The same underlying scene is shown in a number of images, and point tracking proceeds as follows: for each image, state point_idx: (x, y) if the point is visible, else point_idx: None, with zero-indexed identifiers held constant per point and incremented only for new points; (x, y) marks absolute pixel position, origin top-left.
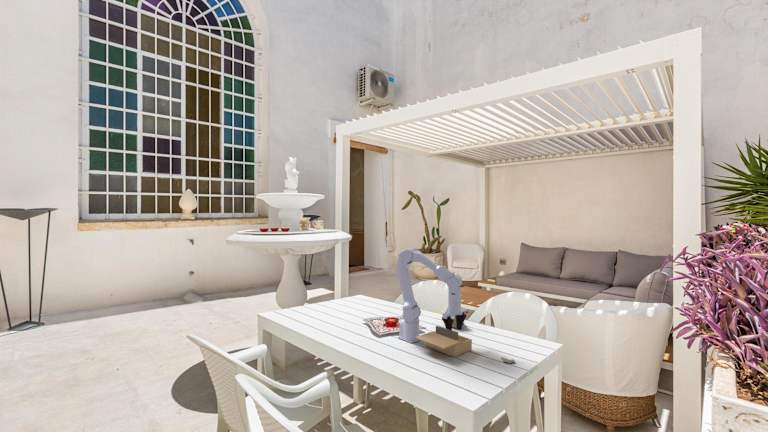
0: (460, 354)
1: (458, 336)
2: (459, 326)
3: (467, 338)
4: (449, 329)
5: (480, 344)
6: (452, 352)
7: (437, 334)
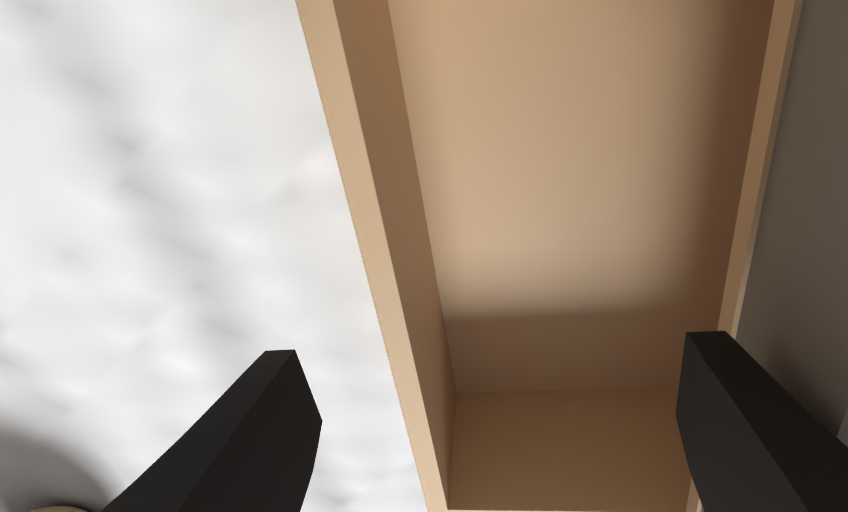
0: None
1: (398, 262)
2: (273, 444)
3: (337, 23)
4: (843, 430)
5: (21, 34)
6: None
7: None
